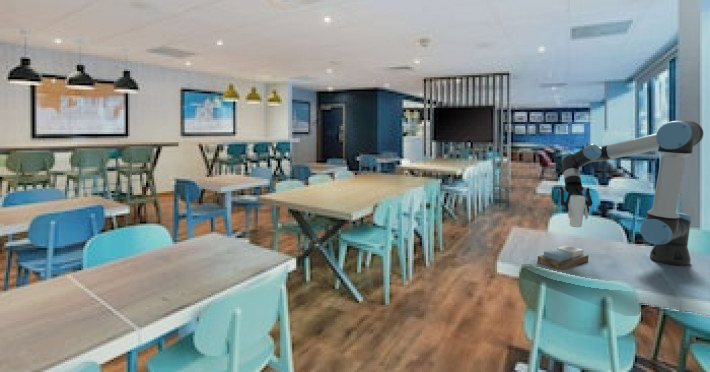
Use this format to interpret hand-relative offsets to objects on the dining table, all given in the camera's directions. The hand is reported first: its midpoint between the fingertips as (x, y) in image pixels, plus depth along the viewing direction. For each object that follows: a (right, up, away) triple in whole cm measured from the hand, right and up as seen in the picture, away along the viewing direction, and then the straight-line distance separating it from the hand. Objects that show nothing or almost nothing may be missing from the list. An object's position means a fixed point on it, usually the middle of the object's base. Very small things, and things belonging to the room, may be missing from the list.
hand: (578, 217), depth 196 cm
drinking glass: (+1, -5, +4) cm, 7 cm away
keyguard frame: (-11, -20, -7) cm, 24 cm away
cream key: (-7, -18, -4) cm, 20 cm away
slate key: (-15, -19, -10) cm, 26 cm away
